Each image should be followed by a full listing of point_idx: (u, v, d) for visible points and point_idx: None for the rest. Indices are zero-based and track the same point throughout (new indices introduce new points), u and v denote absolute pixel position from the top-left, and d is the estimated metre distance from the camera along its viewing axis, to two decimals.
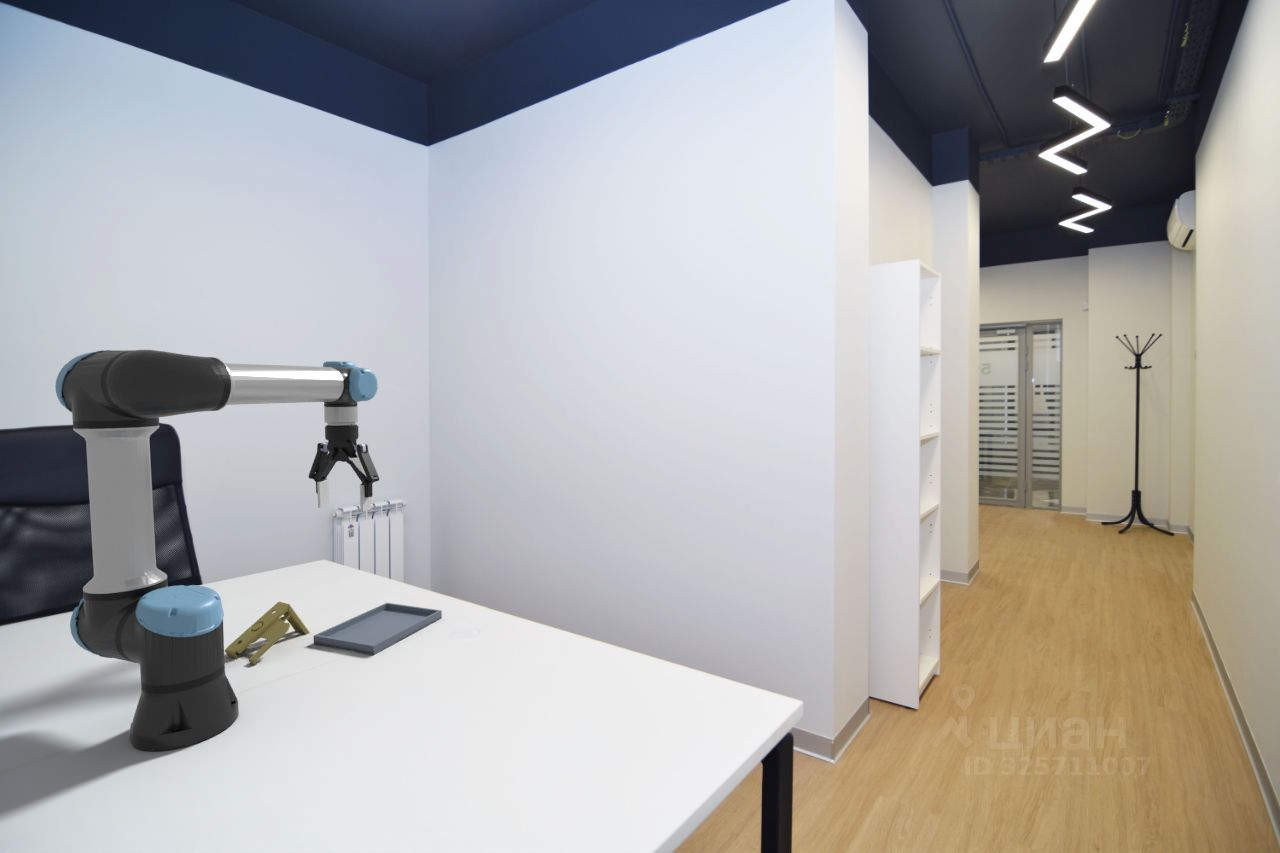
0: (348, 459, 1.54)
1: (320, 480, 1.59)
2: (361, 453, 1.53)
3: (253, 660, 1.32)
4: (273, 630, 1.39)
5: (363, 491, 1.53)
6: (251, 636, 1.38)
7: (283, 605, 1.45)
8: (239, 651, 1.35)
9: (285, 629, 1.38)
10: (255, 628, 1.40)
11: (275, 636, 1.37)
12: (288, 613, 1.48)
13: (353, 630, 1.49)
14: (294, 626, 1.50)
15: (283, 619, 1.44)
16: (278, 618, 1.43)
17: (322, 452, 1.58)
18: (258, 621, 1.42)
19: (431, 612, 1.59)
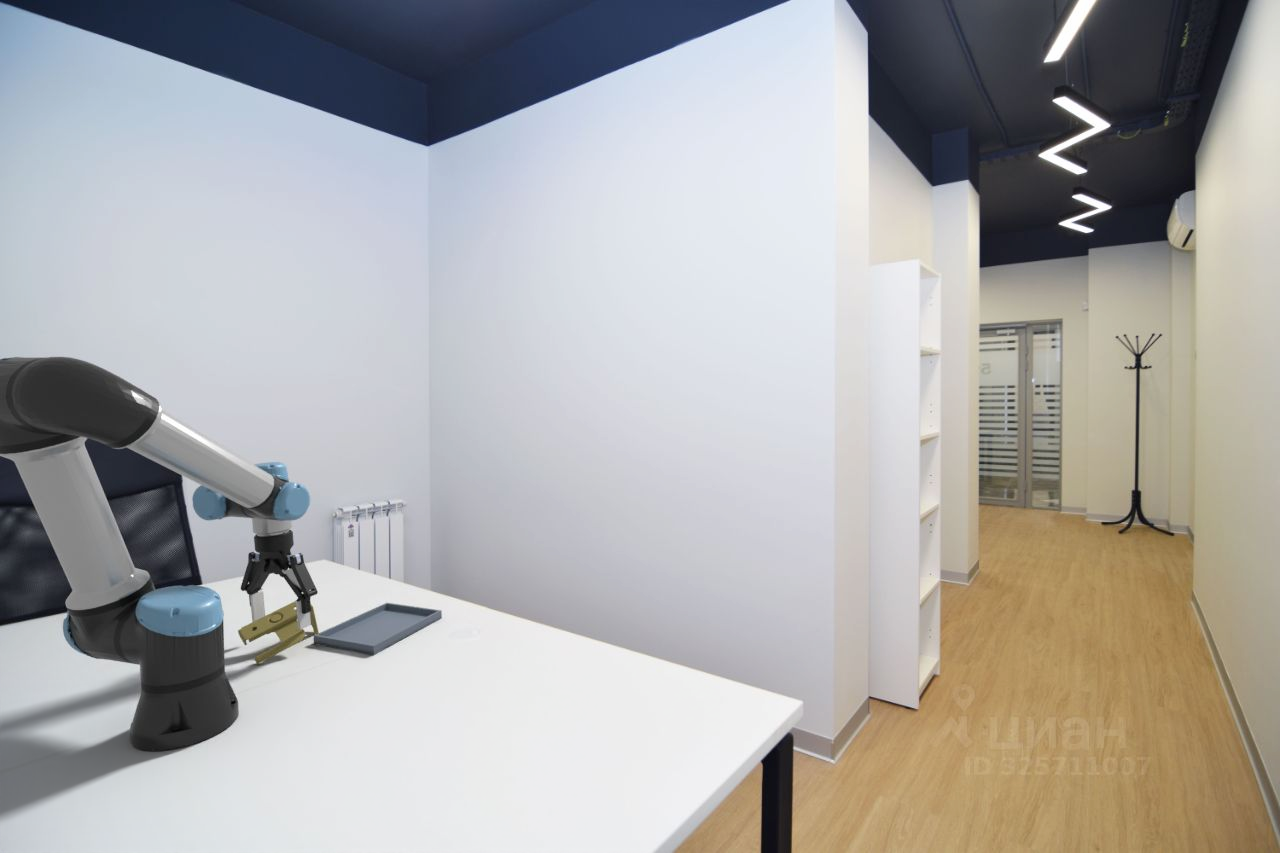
0: (281, 572, 1.38)
1: (254, 592, 1.43)
2: (295, 565, 1.37)
3: (258, 661, 1.32)
4: (287, 631, 1.39)
5: (300, 606, 1.38)
6: (266, 628, 1.38)
7: None
8: (250, 640, 1.35)
9: (299, 638, 1.37)
10: (273, 619, 1.39)
11: (287, 641, 1.36)
12: None
13: (353, 630, 1.49)
14: None
15: None
16: None
17: (254, 562, 1.42)
18: (279, 611, 1.41)
19: (431, 612, 1.59)
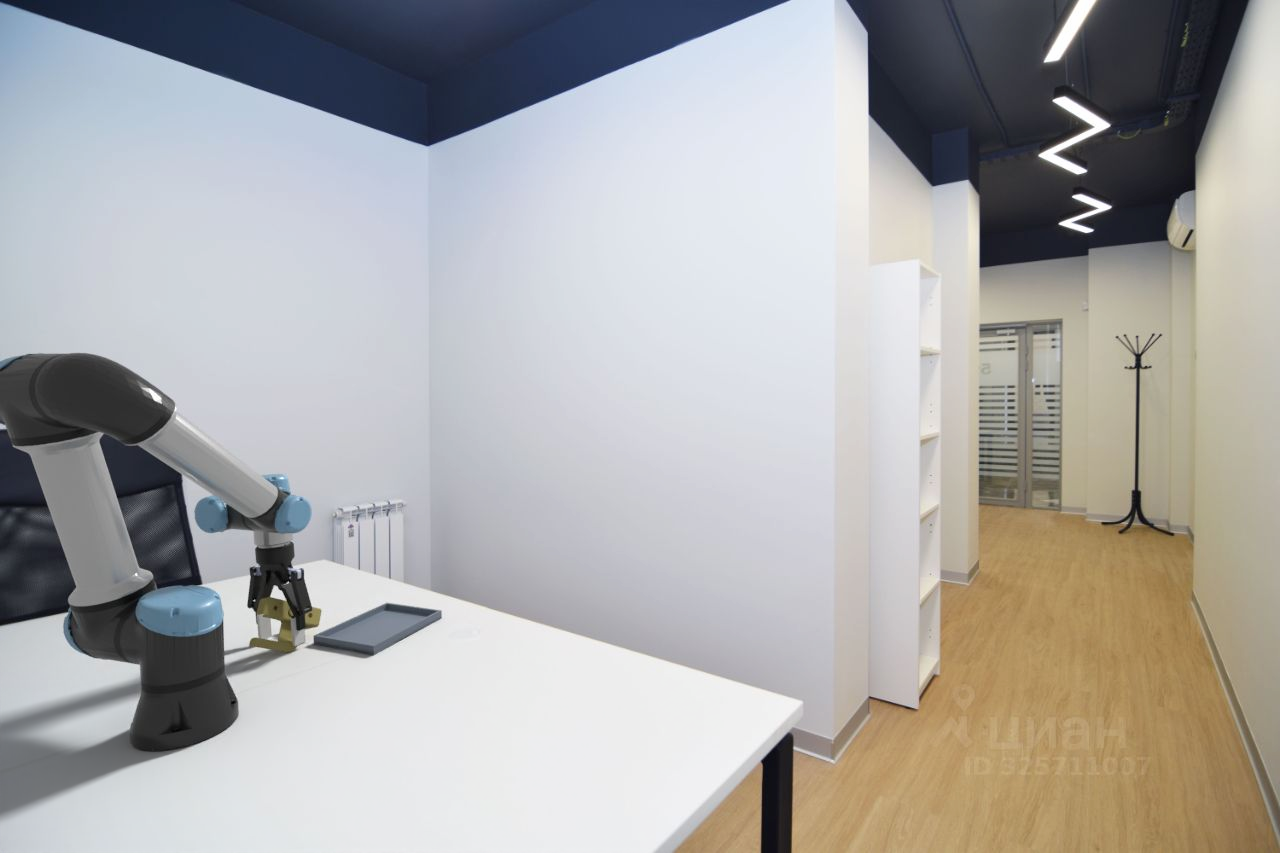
0: (280, 586, 1.38)
1: None
2: (295, 581, 1.37)
3: (254, 644, 1.32)
4: (288, 632, 1.40)
5: (294, 623, 1.39)
6: (282, 616, 1.38)
7: (317, 621, 1.46)
8: (265, 616, 1.35)
9: (290, 649, 1.39)
10: (291, 612, 1.40)
11: (282, 644, 1.37)
12: (309, 615, 1.48)
13: (353, 630, 1.49)
14: None
15: None
16: None
17: (256, 576, 1.42)
18: None
19: (431, 612, 1.59)
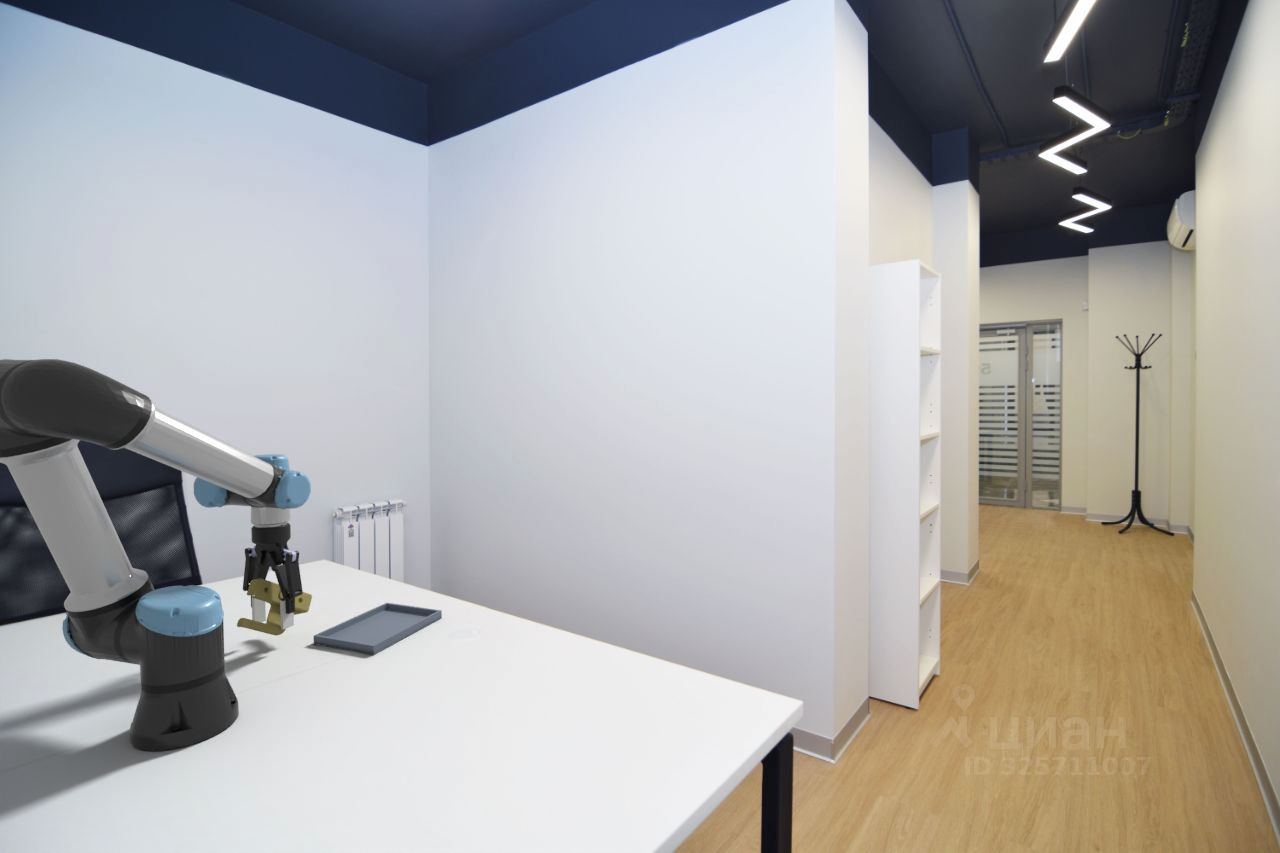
0: (274, 567, 1.38)
1: None
2: (289, 563, 1.37)
3: (242, 625, 1.31)
4: (277, 615, 1.39)
5: (284, 606, 1.38)
6: (271, 599, 1.38)
7: (307, 606, 1.45)
8: (255, 597, 1.35)
9: (277, 632, 1.38)
10: (281, 595, 1.40)
11: (270, 627, 1.36)
12: (299, 601, 1.48)
13: (353, 630, 1.49)
14: None
15: None
16: None
17: (251, 558, 1.41)
18: None
19: (431, 612, 1.59)
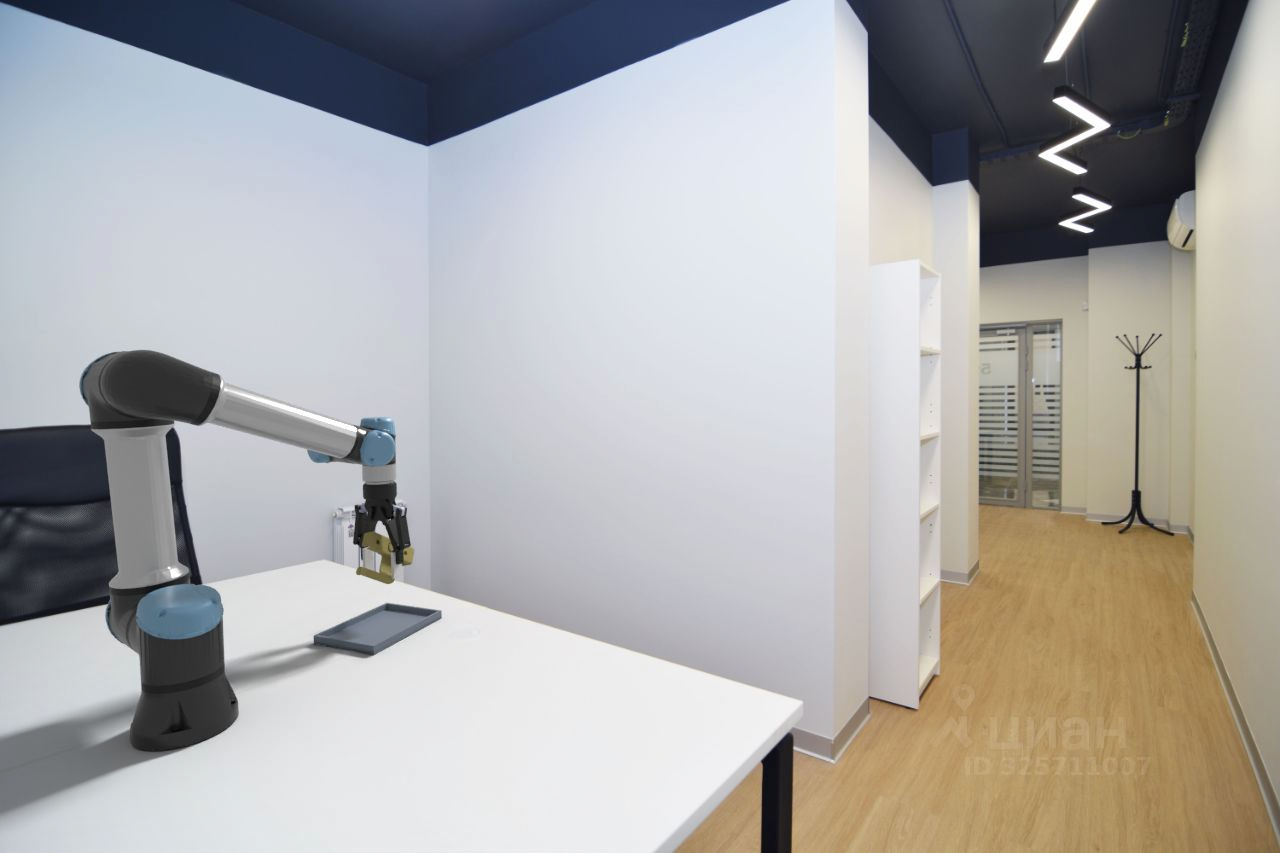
0: (385, 521, 1.48)
1: None
2: (399, 518, 1.47)
3: (361, 573, 1.42)
4: (387, 565, 1.50)
5: (394, 558, 1.49)
6: (383, 550, 1.48)
7: (411, 558, 1.56)
8: (369, 548, 1.46)
9: (389, 581, 1.49)
10: (390, 548, 1.51)
11: (383, 576, 1.47)
12: None
13: (353, 630, 1.49)
14: None
15: None
16: None
17: (361, 513, 1.52)
18: None
19: (431, 612, 1.59)
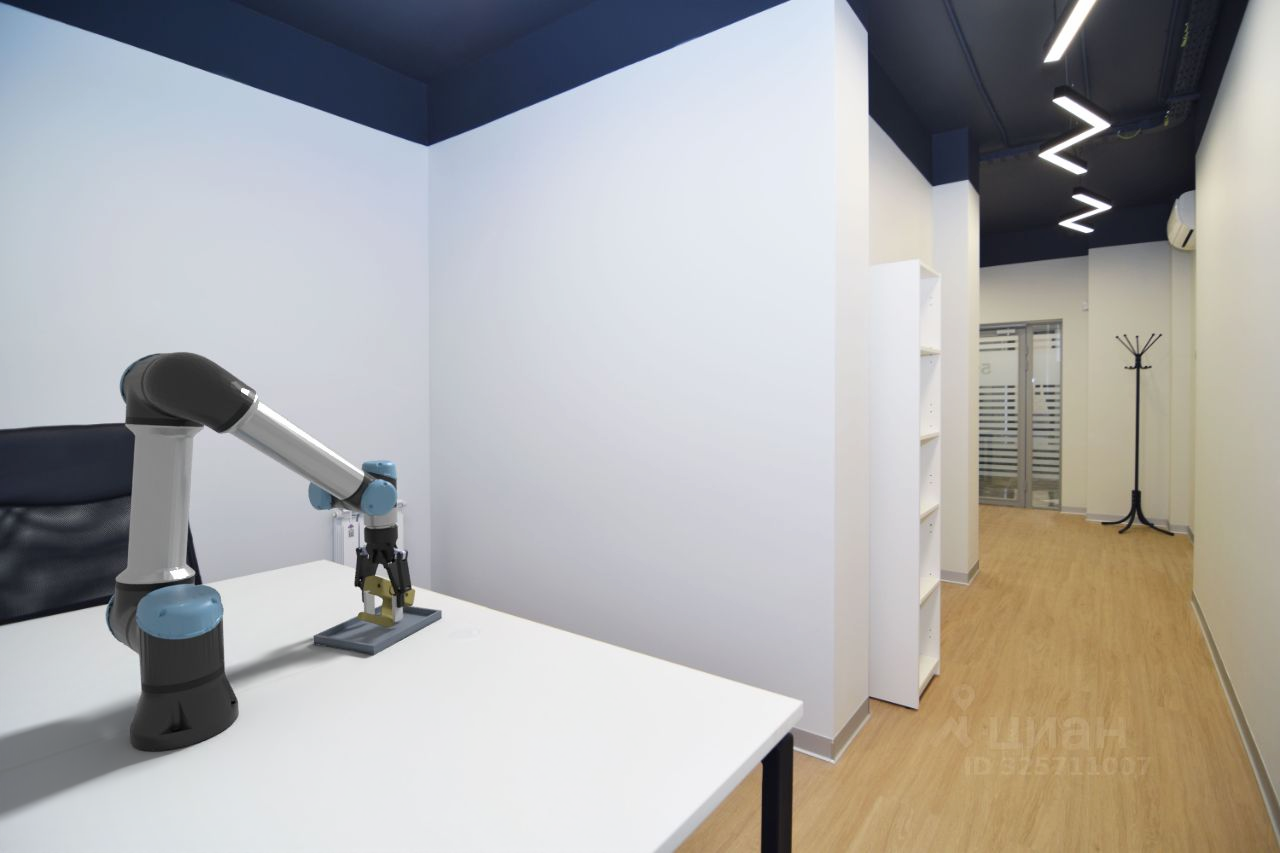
0: (386, 565, 1.49)
1: None
2: (400, 561, 1.48)
3: (362, 618, 1.43)
4: (389, 608, 1.51)
5: (395, 601, 1.49)
6: (384, 594, 1.49)
7: (411, 600, 1.56)
8: (370, 593, 1.46)
9: (390, 625, 1.49)
10: (391, 591, 1.51)
11: (384, 620, 1.48)
12: None
13: (353, 630, 1.49)
14: None
15: None
16: None
17: (362, 556, 1.52)
18: None
19: (431, 612, 1.59)
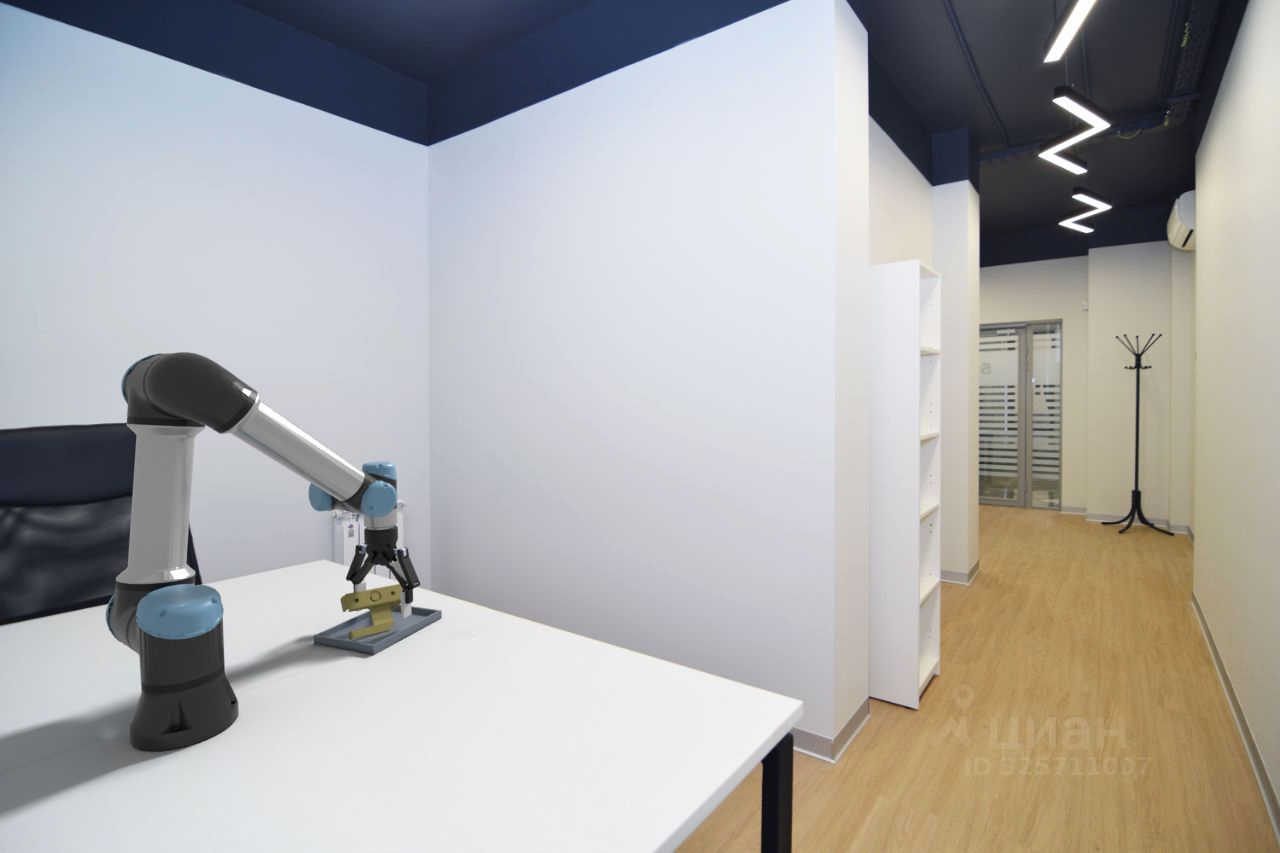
0: (388, 564, 1.48)
1: (358, 582, 1.54)
2: (402, 558, 1.48)
3: (352, 637, 1.43)
4: (380, 614, 1.50)
5: (404, 597, 1.48)
6: (366, 605, 1.48)
7: None
8: (350, 611, 1.45)
9: (388, 627, 1.49)
10: (373, 598, 1.50)
11: (378, 626, 1.48)
12: None
13: None
14: None
15: (391, 603, 1.54)
16: (390, 603, 1.53)
17: (360, 554, 1.53)
18: (378, 591, 1.51)
19: (431, 612, 1.59)
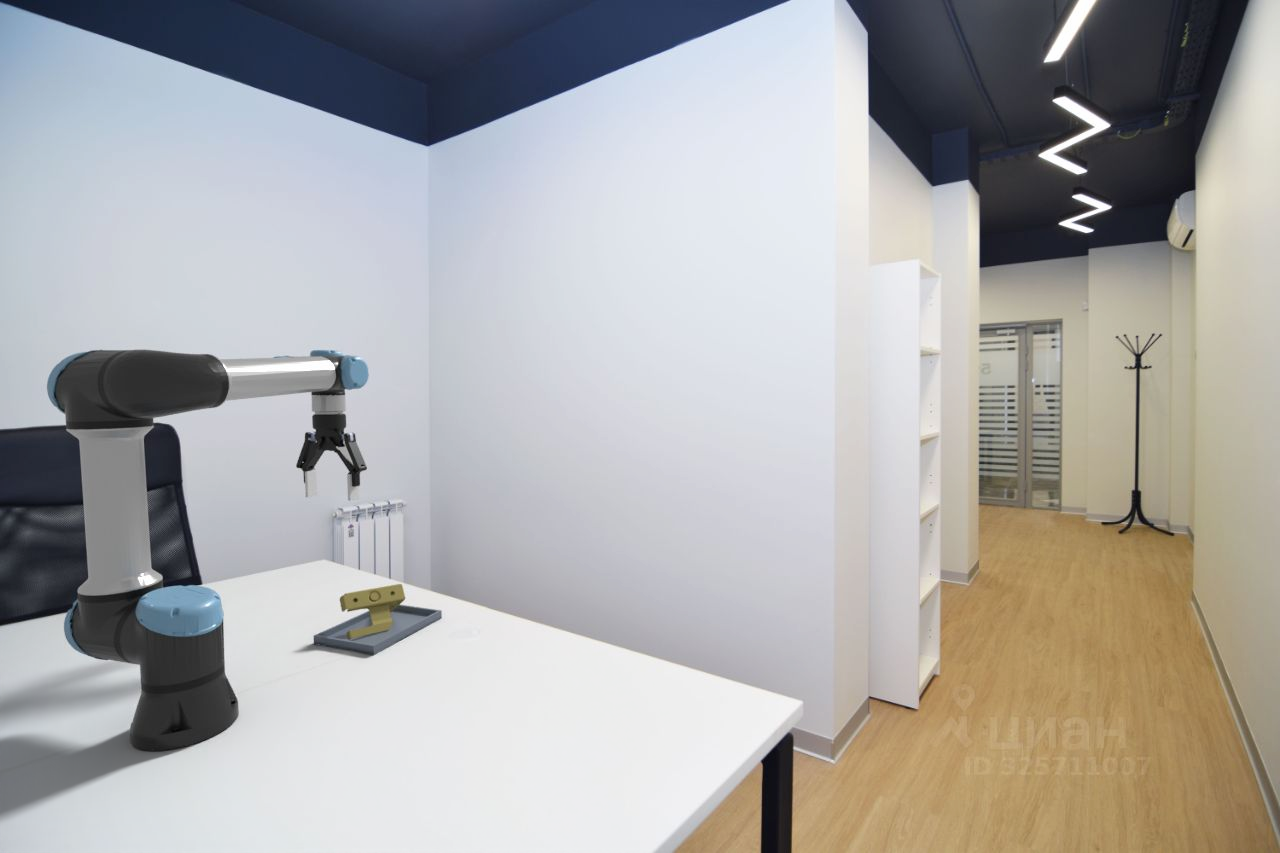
0: (335, 448, 1.53)
1: (308, 469, 1.58)
2: (348, 442, 1.52)
3: (351, 636, 1.43)
4: (379, 614, 1.50)
5: (350, 480, 1.53)
6: (365, 604, 1.48)
7: (401, 595, 1.54)
8: (349, 610, 1.45)
9: (387, 627, 1.49)
10: (372, 598, 1.50)
11: (377, 626, 1.48)
12: None
13: None
14: None
15: (391, 603, 1.54)
16: (390, 603, 1.53)
17: (310, 441, 1.57)
18: (378, 590, 1.52)
19: (431, 612, 1.59)
